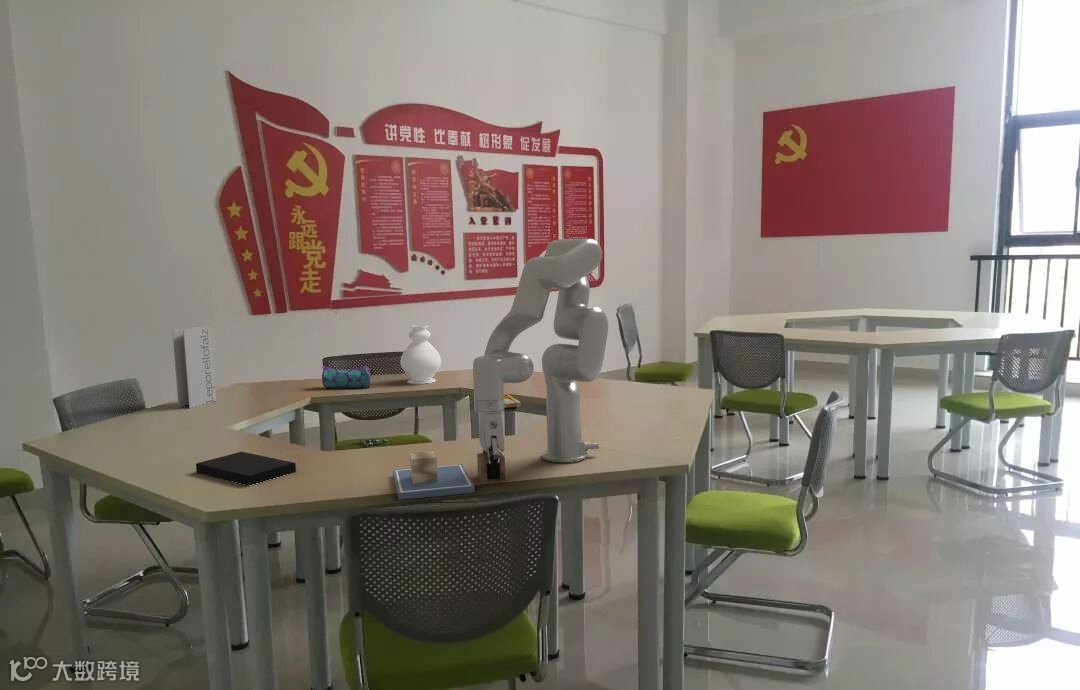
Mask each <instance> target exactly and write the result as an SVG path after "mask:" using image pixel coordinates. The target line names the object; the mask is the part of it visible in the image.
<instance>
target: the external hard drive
mask: <svg viewBox="0 0 1080 690" xmlns="http://www.w3.org/2000/svg"><path fill="white" fill-rule="evenodd" d="M296 466H297V464H296V462H293V461H289V460H288V461H287V460H282V459H279V458H274V457H269V456H266V455H265V456H264V455H260V454H254V453H251V452H245V451H238V452H235V453H234V452H233V453H230V454H227V455H224V456H220V457H216V458H215V457H214V458H212V459H208V460H204V461H200V462H197V463H196V464H195V470H196V471H195V472H196V474H199V475H204V476H206V477H211V478H215V479H219V480H222V479H223V480H224V481H226V480H228V481H227V482H230V481H233V482H232V483H234V482H237V483H236V484H238V483H241V484H240V485H242V484H245V485H244V486H246V485H252V484H256V483H259V484H261V483H260V482H262V483H264V482H263V481H266V480H269V479H272V480H274V479H273V478H275V479H277V478H276V477H279V478H281V477H280V476H282V477H284V476H283V475H285V476H288V475H291V473H292V474H295V473H297V467H296ZM287 474H288V475H287ZM223 480H222V481H223ZM269 481H270V480H269ZM266 482H267V481H266ZM256 485H257V484H256ZM252 486H253V485H252Z"/></svg>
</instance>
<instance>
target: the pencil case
mask: <svg viewBox="0 0 1080 690" xmlns="http://www.w3.org/2000/svg"><path fill="white" fill-rule="evenodd" d="M321 368H322V369H323V371H322V372H321V373H322V374H321V383H322V385H323V387H324V389H330V388H331V389H368V388H369V389H370V387H371V378H372V377H371V376H373V375H374V372H373V370H370V368H369V367H368V366H366V365H363V366H361V367H359V368H350V369H334V368H331V367H329V366H325V365H322V367H321ZM328 387H329V388H328Z"/></svg>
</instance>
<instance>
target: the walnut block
mask: <svg viewBox="0 0 1080 690" xmlns="http://www.w3.org/2000/svg"><path fill="white" fill-rule="evenodd" d="M476 455H477V456H476V458H477V459H476V461H477V477H478V479H479V481H480V482H481V484H484V483H485V484H486V483H496V482H497V483H498V482H505V481H506V458H505V455H503V453H502V451H499V460H500V478H499V479H491V480H489V479H488V478H487V464H488V456H487V453H482V452H479V453H477V454H476ZM491 455H493V454H490V458H491Z"/></svg>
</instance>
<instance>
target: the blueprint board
mask: <svg viewBox="0 0 1080 690" xmlns="http://www.w3.org/2000/svg"><path fill="white" fill-rule="evenodd" d="M392 475H393V480H394V485H396V486H395V489H396V493H397V494H396V495H397V499H398V501H399V500H402V501H403V500H410V499H422V498H431V497H442V496H443V497H444V496H452V495H461V494H473V493H475V485H474V483H473V481H472V479H471V477H470V476H469V474H468V472H467V471H466V468H465V467H464V465H463V463H461V464H450V465H449V464H448V465H439V466H438V465H437V479H438V481H433V482H423V483H413V482H412V478H411V468H405V469H395V470H394V469H393V470H392Z"/></svg>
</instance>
